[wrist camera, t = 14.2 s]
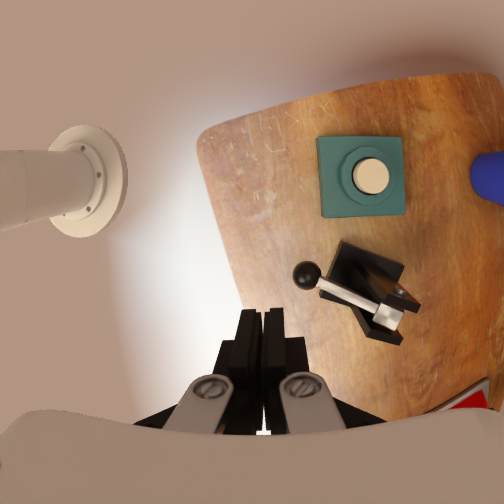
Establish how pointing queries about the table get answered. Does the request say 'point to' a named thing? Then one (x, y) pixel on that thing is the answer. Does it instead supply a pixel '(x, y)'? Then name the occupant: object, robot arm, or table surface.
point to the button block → (342, 183)
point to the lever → (346, 294)
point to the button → (371, 176)
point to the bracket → (370, 287)
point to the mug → (489, 176)
